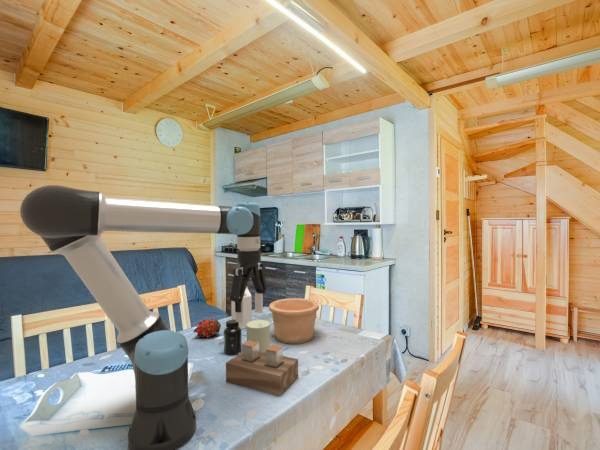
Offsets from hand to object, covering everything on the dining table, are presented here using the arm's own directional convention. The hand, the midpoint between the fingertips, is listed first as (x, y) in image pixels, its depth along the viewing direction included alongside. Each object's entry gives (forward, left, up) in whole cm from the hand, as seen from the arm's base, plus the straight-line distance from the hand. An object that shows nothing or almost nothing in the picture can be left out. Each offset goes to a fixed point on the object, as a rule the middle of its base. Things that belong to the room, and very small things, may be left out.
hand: (250, 316), depth 103 cm
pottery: (+37, +2, -20) cm, 42 cm away
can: (+16, +7, -20) cm, 27 cm away
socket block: (0, -5, -20) cm, 20 cm away
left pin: (0, 0, -15) cm, 15 cm away
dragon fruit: (+21, +37, -20) cm, 47 cm away
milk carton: (+38, +31, -20) cm, 53 cm away
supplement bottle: (+13, +17, -20) cm, 30 cm away
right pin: (0, -9, -15) cm, 17 cm away
